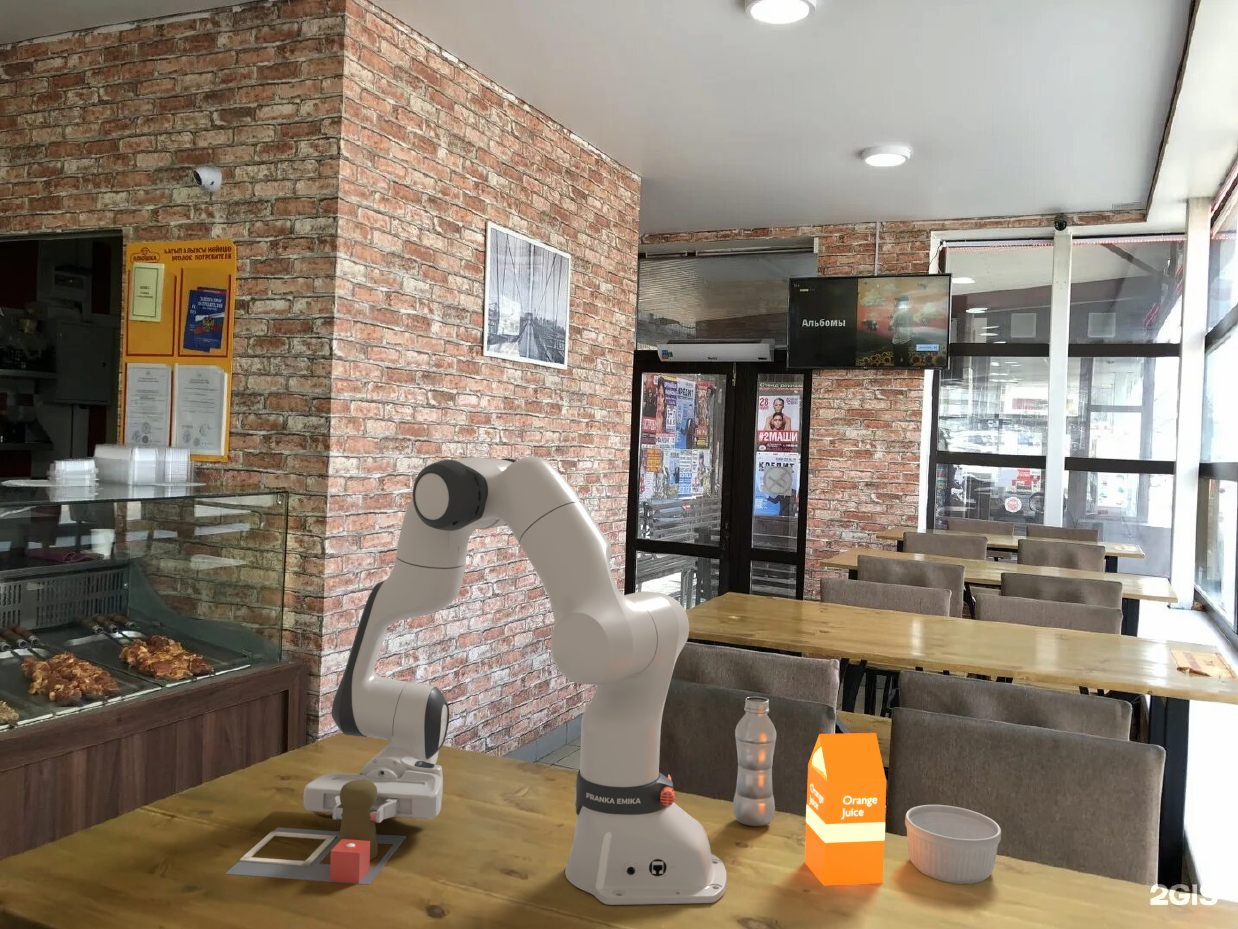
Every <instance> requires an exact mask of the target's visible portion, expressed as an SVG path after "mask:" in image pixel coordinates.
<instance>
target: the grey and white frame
mask: <svg viewBox="0 0 1238 929" xmlns="http://www.w3.org/2000/svg"><path fill="white" fill-rule="evenodd" d="M339 834H340V831H335V830H334V831H333V830H319V829H317V830H316V829H306V828H305V829H303V828H293V827H292V828H291V827H276V828H274V830H272V831H270V832H269V833H268V834H267V835H266V836H264V838H262V839H260V841H259V842H258V843H256V844H255V845H254V846H253V847H252V848H251V849H250V850H248V851H247V852H246V853H245V854H244V855H243V856H242V857H241V858H239V861H237V863H235V865H232V867H231V868H230V869H229V870H227V871H226V873H224V875H233V876H234V875H235V876H244V877H245V876H247V877H248V876H249V877H261V878H274V879H286V880H287V879H289V880H300V881H301V880H302V881H314V882H315V881H316V882H326V883H327V882H330V883H343V884H353V885H354V884H355V885H357V884H358V885H368V886H369V885H370V884H371V883H372V882H374V879H375V878H376V877H377V875H378V874H379V873H380V872H381V870H382V869H383V868H384V867H385V865H386V864H387V863H388V862H389V860H390V858H391V857H392V856H393V855H394V854H395V853H396V851H397V850H398V848H399V847H400V846H401V844H402V843H403V842H404V840H405V839H406V838H407V836H406V835H395V834H394V835H393V834H392V835H391V834H379V833H378V834H377V833H376V836H377V844H382V845H383V844H384V845H392V846H391V847H390V848H389V849H388V850H387V852H386V853H384V854H385V855H383V856H382V858H381V860H380V861H378V863H377V865H376V866H375V867H373V866H370V868H369V871H368V872H367V874H366V875H365V876H364V877H363V879H362V880H361V881H360V882H359V883H354V882H341V881H330V864H328V863H322V861H323V860H324V859H325V858H326V857H327V856H328V855H329V854H331V850H332V849H333V848H334V847H335V846H336V845H337V844H338V840H339ZM275 837H282V838H283V837H284V838H295V839H296V838H297V839H298V838H299V839H309V840H310V839H312V840H324V841H322V843H321V844H320V845H319V846H318V847H317V848H316V849H315V850H314V851H313V852H312V853H311V854H310V856H308V858H307V859H305V860H295V859H294V860H293V859H283V858H282V859H280V858H269V857H268V858H267V857H254V856H255V855H256V854H257V853H258V852H259V851H260V850H261V849H262V848H263V847H265V846H266V844H268V843H270V841H271V840H273V839H274V838H275Z"/></svg>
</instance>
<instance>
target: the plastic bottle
mask: <svg viewBox="0 0 1238 929" xmlns="http://www.w3.org/2000/svg"><path fill="white" fill-rule="evenodd" d="M744 701H745V704H744V707H743V709H744V712H745V714H744V715H743V716H742V717H741V719H739V721H738V723H737V724H736V728H735V730H734V732H735V733H734V735H735V736H734V737H735V744H736V751H737V764H738V765H737V779H736V787H735V793H734V797H733V803H732V810H733V815H734V817H735V818H736V821H738V822H739V823H740V824H742V825H744V826H745V825H746V826H749V827H750V826H751V827H763V826H768V825H769V824H770V823H771V822H772V821H773V820H774V816H775V812H776V806H775V798H774V797H775V796H774V794H773V775H772V774H773V768H772V767H773V764H774V763H773V762H774V761H773V760H774V753H775V746H776V742H777V741H776V740H777V731H776V728H775V726H774V723H773V722H772V720H771V719H770V717H769V716H768V714H769V713H770V708H769V704H770V700H769V698H767V697H761V696H748V697H746V698H745V700H744Z"/></svg>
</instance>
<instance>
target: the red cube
mask: <svg viewBox="0 0 1238 929" xmlns="http://www.w3.org/2000/svg"><path fill="white" fill-rule="evenodd" d="M329 858H330V881H341V882H354V883H359V882H360V881H361V880H362V879H363V877H364V876H365V875H366V874H367V872H368V871H369V868H370V867H371V866H370V865H371V864H370V862H371V861H370V841H363V840H349V839H341V841H340V842H339V843H338V844H337V845H336V846H335V847H334V848H333V849H332V850H331V851H330V857H329Z"/></svg>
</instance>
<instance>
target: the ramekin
mask: <svg viewBox="0 0 1238 929" xmlns="http://www.w3.org/2000/svg"><path fill="white" fill-rule="evenodd" d="M904 825H905V827H906V839H907V840H906V841H907V851H908V857H909V859H910V861H911V863H912V865H913V866H914V868H915V869H916V870H918V871H919V872H921V873H922V874H924V875H926V876H928V877H930V878H932V879H935V880H937V881H938V880H939V881H941V882H944V883H945V882H946V883H951V884H957V885H958V884H959V885H967V884H968V885H971V884H978V883H981V882H983V881H985V880H987V878H989V877H990V876H991V875H992V873H993V871H994V868H995V863H996V860H997V859H996V858H997V853H998V847H999V843H1000V842H1001V838H1002V829H1001V827H1000V825H999V824H998V823H997V822H996V821H995V820H993V819H992V818H991V817H988V816H986V815H985V814H982V813H980V812H976V811H974V810H971V809H967V808H963V807H958V806H952V805H943V804H924V805H918V806H914V807H911V808H910V809H908V810H907V812H906V813H905V819H904Z"/></svg>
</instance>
